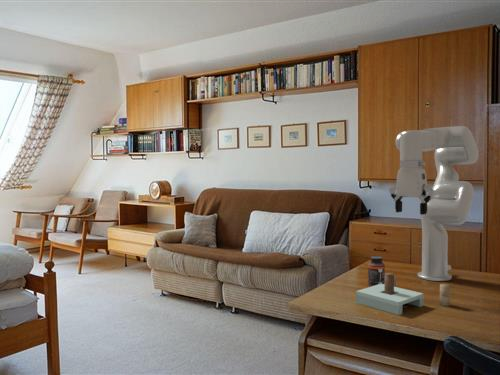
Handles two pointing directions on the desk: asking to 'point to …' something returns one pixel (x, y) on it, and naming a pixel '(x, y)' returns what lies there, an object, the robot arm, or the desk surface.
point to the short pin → (394, 282)
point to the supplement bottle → (376, 271)
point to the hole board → (388, 298)
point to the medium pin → (444, 295)
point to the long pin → (389, 284)
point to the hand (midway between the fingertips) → (410, 213)
